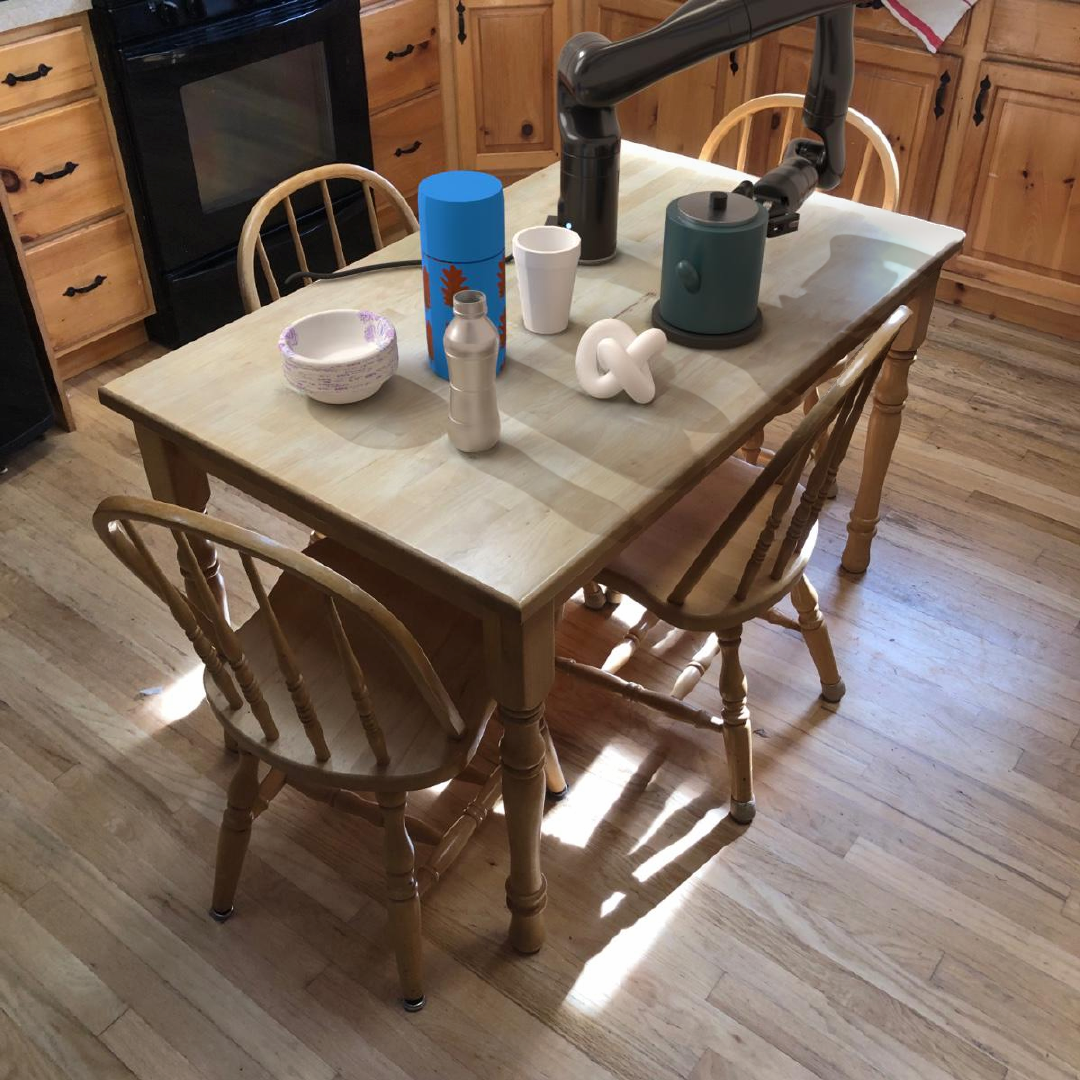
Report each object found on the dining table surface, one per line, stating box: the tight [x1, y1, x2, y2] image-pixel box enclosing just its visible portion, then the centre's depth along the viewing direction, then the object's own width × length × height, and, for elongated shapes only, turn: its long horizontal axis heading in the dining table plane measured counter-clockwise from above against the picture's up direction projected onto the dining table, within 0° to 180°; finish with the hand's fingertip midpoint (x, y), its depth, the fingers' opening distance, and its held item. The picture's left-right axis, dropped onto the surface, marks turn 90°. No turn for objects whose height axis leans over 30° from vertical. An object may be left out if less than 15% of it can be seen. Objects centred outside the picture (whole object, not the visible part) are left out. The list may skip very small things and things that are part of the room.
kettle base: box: [650, 298, 764, 350], centre depth 172 cm, size 16×16×2 cm
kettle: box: [659, 179, 769, 334], centre depth 166 cm, size 24×14×17 cm, turn 151°
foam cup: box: [511, 225, 581, 335], centre depth 168 cm, size 10×9×13 cm
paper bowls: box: [277, 308, 400, 405], centre depth 155 cm, size 15×15×8 cm
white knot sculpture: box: [575, 318, 668, 405], centre depth 153 cm, size 11×12×9 cm
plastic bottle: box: [443, 290, 502, 453], centre depth 140 cm, size 6×7×20 cm
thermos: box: [417, 170, 507, 381], centre depth 155 cm, size 11×11×25 cm
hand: (734, 235), depth 171 cm, fingers closed on kettle, 2 cm apart
